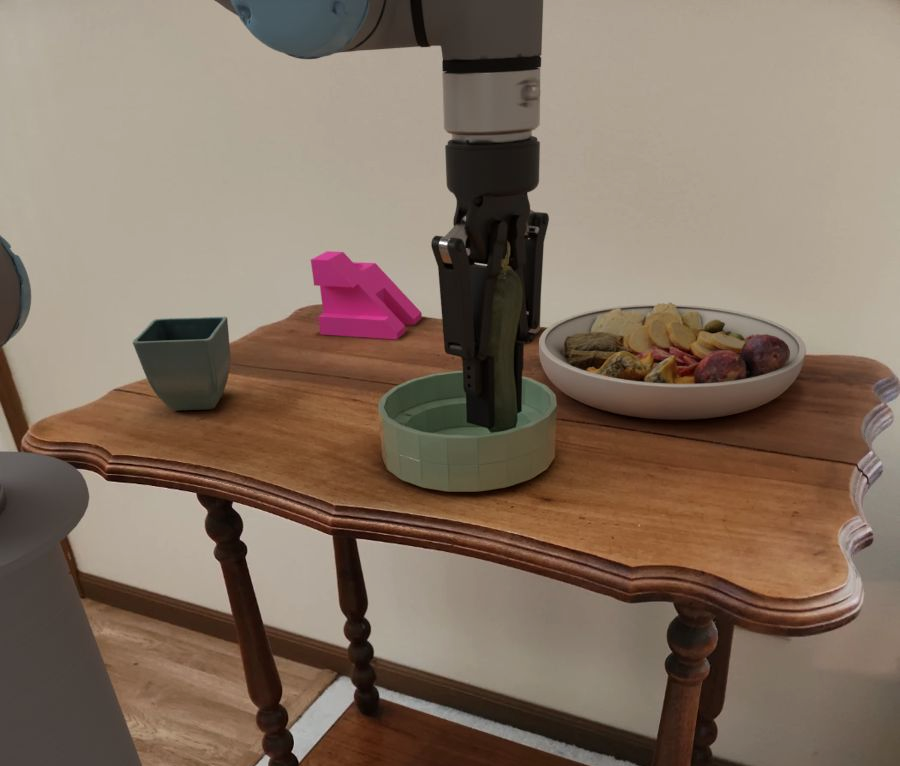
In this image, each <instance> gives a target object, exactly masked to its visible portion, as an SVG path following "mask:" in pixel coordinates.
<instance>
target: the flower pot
mask: <svg viewBox="0 0 900 766" xmlns="http://www.w3.org/2000/svg"><path fill="white" fill-rule="evenodd" d="M228 322H229V321H228V317H227V316H205V317H173V318H171V317H169V318H167V317H166V318H155V319H153V320H152V321H151V322H149V324H148V325H147V326H146V327H145V328H144V329H143V330H142V331H141V333H139V335H138V336H137V337H135V338H134V339H133V340H132V345H133V348H134V350H135V353H136V355H137V358H138V361H139V362H140V363H139V364H140V366H141V367H142V368H141V369H142V370H143V373H144V375H145V378H146V381H147V382H148V384H149V385H150V387H151V389H152V390H153V392H154V393H155V395H156V396H157V397H158V398H159V400H160V401H161V402H163V404H165V405H166V406H167V407H168V408H169V409H170V410H171V411H194V410H195V411H199V410H201V411H202V410H213V409H215V408H216V407H217V405H218V403H219V401H220V400H221V398H222V396H223V395H224V392H225V389H226V386H227V382H228V378H229V375H230V369H231V347H230V334H229V323H228Z"/></svg>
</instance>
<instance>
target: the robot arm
mask: <svg viewBox="0 0 900 766" xmlns="http://www.w3.org/2000/svg"><path fill="white" fill-rule="evenodd" d="M214 2H216V3H218V4H219V5H220V6H222V7H223V8H224V9H226V10H227V11H229V12H230V13H232V14H234V15H236V16H237V17H238V18H239V20H240V21H241V23H242V24H243V25H244V27H245V28H246V29H247V30H248V31H249V33H250V34H252V36H253V37H254V38H255V39H256V40H258V41H259V42H260V43H262V44H263V45H265V46H266V47H268V48H270V49H272V50H274V51H277V52H279V53H283V54H284V55H287V56H289V57H292V58H295V59H299V60H300V59H301V60H317V59H321V58H325V57H329V56H332V55H335V54H339V53H352V52H357V51H358V52H361V51H377V50H378V51H379V50H389V49H390V50H392V49H402V48H403V49H404V48H418V47H419V48H431V47H440V49H441V50H440V51H441V56H442V61H441V62H442V67H441V68H442V69H441V70H442V73H441V74H442V75H441V76H442V107H443V108H442V109H443V110H442V111H443V112H442V113H443V129H444V131H445V132H446V133H448V134H450V135H451V139H450V140H448V141H447V144H445V146H444V149H445V154H444V155H445V176H446V179H445V180H446V188H447V189H448V191H449V192H450V193H452V194H453V196H454V197H455V200H456V205H455V206H456V207H455V212H454V215H453V220H452V221H453V222H452V223H453V227H451V229H450V230H449V231H448V232H447V233H446V234H445V235H444V236H443V235H434V236H433V237H432V239H431V241H430V242H431V243H430V244H431V245H430V246H431V250H432V253H433V256H434V259H435V262H436V265H437V270H438V283H439V296H440V308H441V323H442V333H443V334H442V335H443V345H444V347H443V348H444V352H445V354H447V355H450V356H455V357H458V358H461V362H462V371H463V381H464V382H463V388H464V391H465V393H466V415H467V423H471V424H474V425H478V426H481V427H485V428H488V429H490V428H492V427H494V357H490V356H487V353H488V343H489V332H490V322H491V312H492V302H493V291H494V281H495V278H496V277H497V276H499V274H500V269H501V260H502V259H505V256H506V254H507V241H508V242H509V244H510V256H509V264H508V265H509V266H510V267H511V268H512V269H513V270H514V271H515V272H516V273H517V274H518V276H519V278H520V281H521V284H522V292H523V297H522V307H521V312H520V317H519V322H518V328H517V334H516V339H515V345H514V377H515V385H516V397H517V414H518V413H519V412H521V411H522V376H523V371H524V358H525V357H524V355H525V354H524V353H525V352H524V351H525V350H524V349H525V343H528V344H531V343H533V342H534V340H535V337H536V334H535V333H531V332H529V331H530V330H531V329H537V328H538V326H539V322H540V323H541V311H540V304H542V286H543V285H542V283H543V266H544V249H545V248H544V245H545V239H546V234H547V231H548V227H549V223H550V222H549V221H550V216H549V214H548V213H547V212H539V211H535V210H532V209H531V204H530V203H531V202H530V200H529V194H528V193H530V192H532V191H534V190H536V189H537V188H538V186H539V183H540V163H541V162H540V160H541V159H540V157H541V154H540V153H541V142H540V141H539V140H538V137H537V136H534V135H533V131H535V130H537V128H539V127H540V125H541V67H542V52H543V51H542V49H543V24H544V23H543V20H544V19H543V18H544V0H214ZM11 248H12V246H11V244H10V243H9V242H8V241H7V240H6V238H4V237H3V236H2V235H0V349H2V347H4V346H5V345H6V344H7V343H9V341H10V340H11V339H13V338H14V337H15V336H17V334H18V333H19V332H20V331H21V329H23V327H24V326H25V324H26V322H27V319H28V317H29V315H30V311H31V305H32V288H31V287H32V286H31V282H30V278H29V274H28V272H27V269H26V267H25V264H24V262H23V260H22V258H21V257H20V256H19V255H18V254H15V252H13V251H12V249H11ZM481 264H482V265H481ZM526 311H527V312H529V314H527V312H526ZM474 342H475V343H474ZM6 502H7V498H6V495H5V492H4V490H3V487H2V484H1V482H0V514H1V513H2V511H3V510H4V508H5V506H6Z"/></svg>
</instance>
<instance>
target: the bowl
mask: <svg viewBox="0 0 900 766" xmlns="http://www.w3.org/2000/svg"><path fill="white" fill-rule="evenodd" d="M806 354H807V347H806V343H805V341H804V340H803V339H802V338H801V337H800V336H799V335H798V334H797V333H796V332H794V331H793V330H791V329H790V328H788V327H786V326H784V325H782V324H780V323H778V322H775V321H772V320H770V319H767V318H764V317H760V316H758V315H754V314H749V313H745V312H741V311H735V310H732V309H731V310H730V309H725V308H717V307H710V306H699V305H688V304H687V305H686V304H675V303H672V302H667V303H657V304H633V305H621V306H612V307H605V308H598V309H594V310H587V311H584V312H581V313H580V312H579V313H578V314H574V315H570V316H567V317H565V318H562V319H560V320H558V321H556V322H555V323H553V324H551V325H549V326H548V327H547V328H546V329H545V330H544V331H543V332H542V333H541V334H540V336H539V340H538V356H539V361H540V364H541V367H542V370H543V372H544V374H545V375H546V377H547V378H548V380H549V381H550V382H551V383H552V385H554V386H555V387H556V388H557V389H558V390H559V391H561V392H562V393H564V394H565V395H566V396H567V397H570V398H571V399H573V400H575V401H577V402H578V403H579V402H580V403H582V404H584V405H586V406H589V407H592V408H594V409H598V410H601V411H604V412H609V413H612V414H617V415H623V416H627V417H633V418H642V419H650V420H664V421H665V420H666V421H669V420H670V421H685V420H686V421H687V420H706V419H713V418H720V417H727V416H732V415H736V414H740V413H744V412H747V411H750V410H753V409H756V408H759V407H761V406H764V405H765V404H768V403H769V402H771V401H773V400H775V399H776V398H778V397H779V396H781V395H782V394H783V393H785V391H787V390H788V389H789V388H790V387H791V386H792V385H793V383H794V382H795V381H796V379H797V378H798V377H799V375H800V373H801V370H802V369H803V366H804V362H805V358H806Z"/></svg>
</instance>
